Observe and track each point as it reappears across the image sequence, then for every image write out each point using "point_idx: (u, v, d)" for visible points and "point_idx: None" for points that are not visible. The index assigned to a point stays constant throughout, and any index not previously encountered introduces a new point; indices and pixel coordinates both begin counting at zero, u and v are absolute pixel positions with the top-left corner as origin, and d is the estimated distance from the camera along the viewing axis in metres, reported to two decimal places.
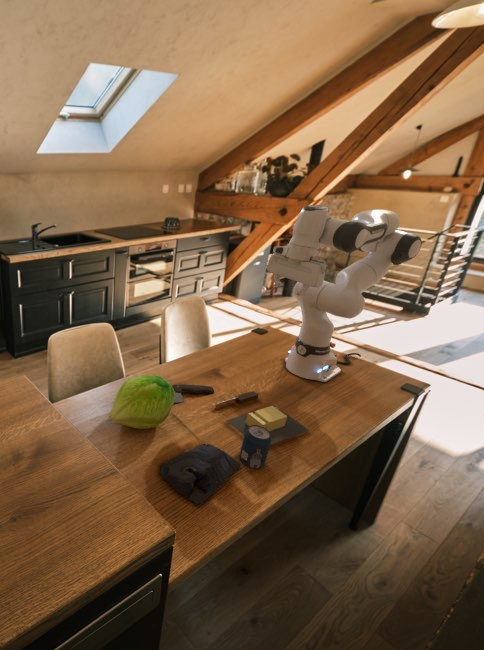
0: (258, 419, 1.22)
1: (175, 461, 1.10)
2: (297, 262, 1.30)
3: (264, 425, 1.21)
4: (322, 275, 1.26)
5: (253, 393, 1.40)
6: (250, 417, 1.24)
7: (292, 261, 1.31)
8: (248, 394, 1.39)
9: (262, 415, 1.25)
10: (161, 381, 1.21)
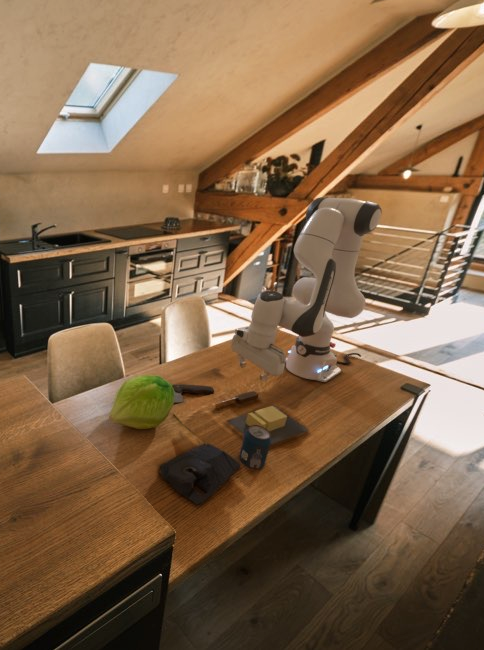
0: (258, 419, 1.22)
1: (175, 461, 1.10)
2: (257, 349, 1.28)
3: (264, 425, 1.21)
4: (282, 364, 1.23)
5: (253, 393, 1.40)
6: (250, 417, 1.24)
7: (252, 347, 1.29)
8: (248, 394, 1.39)
9: (262, 415, 1.25)
10: (161, 381, 1.21)
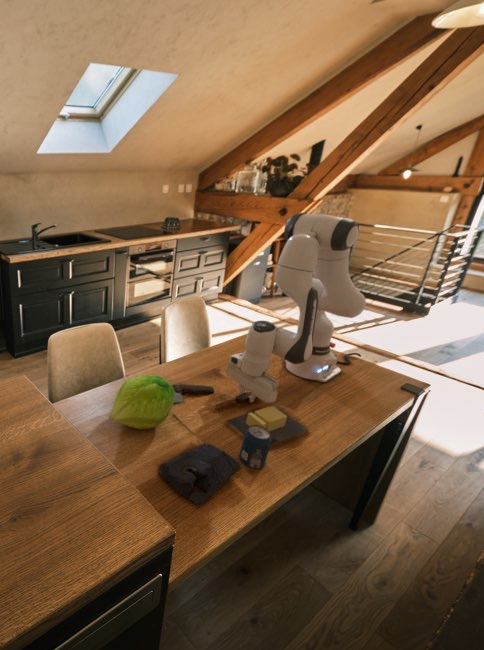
0: (258, 419, 1.22)
1: (175, 461, 1.10)
2: (251, 376, 1.32)
3: (264, 425, 1.21)
4: (274, 392, 1.27)
5: None
6: (250, 417, 1.24)
7: (246, 374, 1.33)
8: (248, 394, 1.39)
9: (262, 415, 1.25)
10: (161, 381, 1.21)
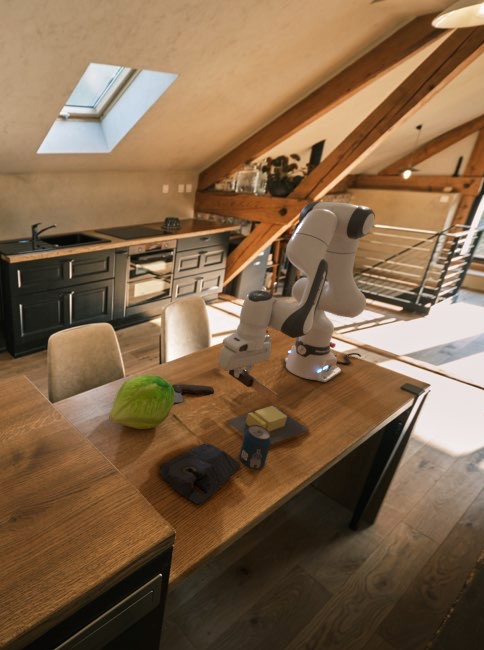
0: (258, 419, 1.22)
1: (175, 461, 1.10)
2: (258, 349, 1.25)
3: (264, 425, 1.21)
4: None
5: None
6: (250, 417, 1.24)
7: (255, 351, 1.24)
8: None
9: (262, 415, 1.25)
10: (161, 381, 1.21)
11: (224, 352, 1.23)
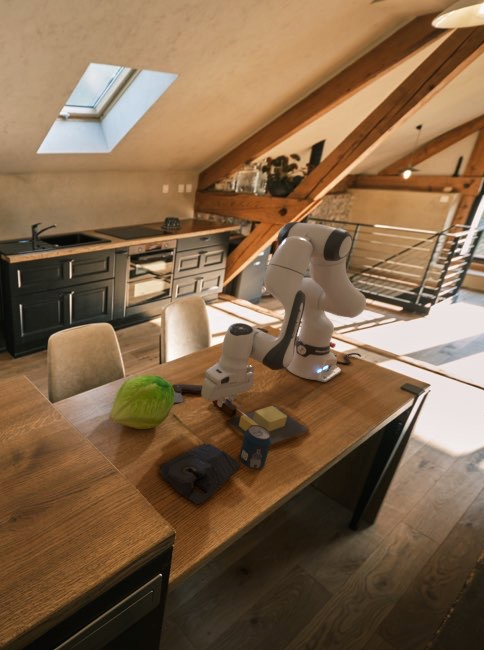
0: (251, 422, 1.21)
1: (175, 461, 1.10)
2: None
3: None
4: None
5: None
6: (243, 420, 1.23)
7: (237, 382, 1.26)
8: (222, 400, 1.33)
9: (262, 415, 1.25)
10: (161, 381, 1.21)
11: (207, 383, 1.25)
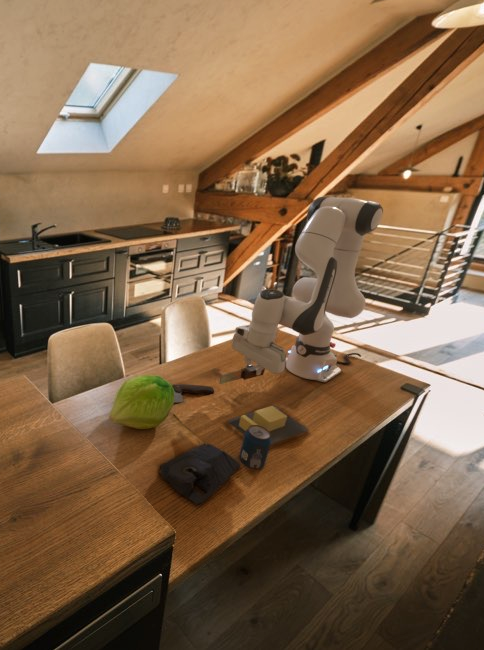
0: (251, 422, 1.21)
1: (175, 461, 1.10)
2: (258, 347, 1.28)
3: None
4: (282, 363, 1.23)
5: None
6: (243, 420, 1.23)
7: (253, 345, 1.29)
8: (254, 367, 1.34)
9: (262, 415, 1.25)
10: (161, 381, 1.21)
11: None
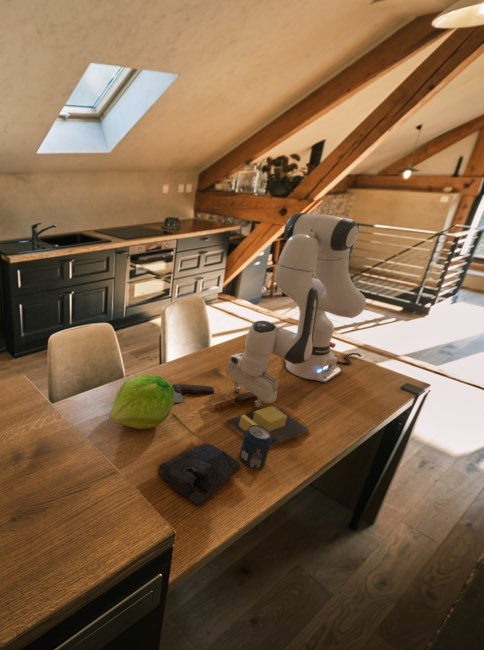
0: (251, 422, 1.21)
1: (175, 461, 1.10)
2: (251, 376, 1.32)
3: None
4: (274, 392, 1.27)
5: (252, 393, 1.40)
6: (243, 420, 1.23)
7: (246, 374, 1.33)
8: (247, 394, 1.39)
9: (262, 415, 1.25)
10: (161, 381, 1.21)
11: None
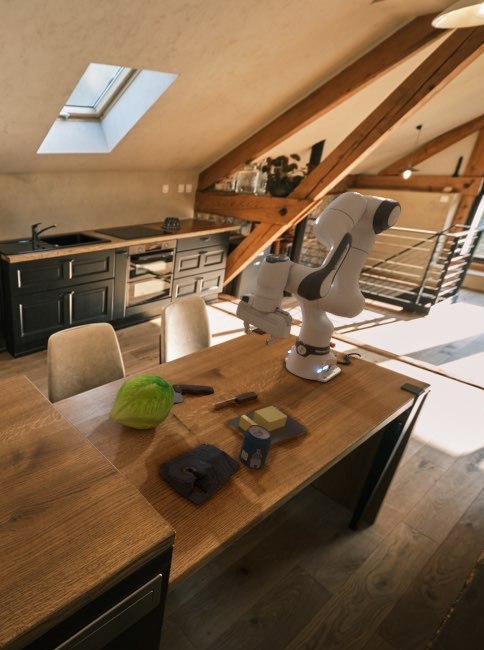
0: (251, 422, 1.21)
1: (175, 461, 1.10)
2: (263, 313, 1.27)
3: None
4: (288, 327, 1.22)
5: (252, 393, 1.40)
6: (243, 420, 1.23)
7: (258, 312, 1.28)
8: (247, 394, 1.39)
9: (262, 415, 1.25)
10: (161, 381, 1.21)
11: None
